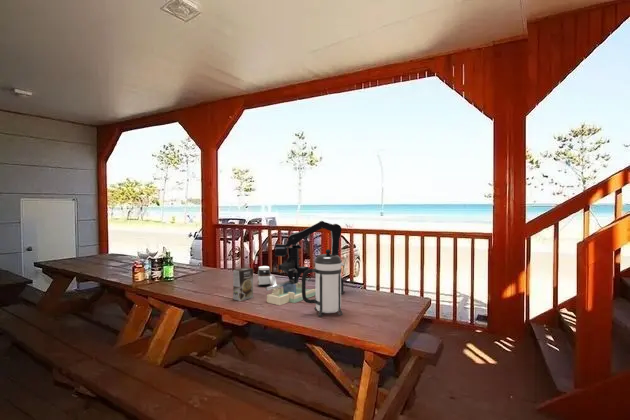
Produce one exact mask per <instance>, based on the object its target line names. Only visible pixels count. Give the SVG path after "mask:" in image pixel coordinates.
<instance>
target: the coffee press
mask: <svg viewBox="0 0 630 420" xmlns="http://www.w3.org/2000/svg"><path fill="white" fill-rule="evenodd" d="M314 264H315V268H309V269H308V270H306V271H305V272H304V273H302V274H301V275H302V276H301V283H302V298H303V300H302V301H304V302H305V303H307V304H315V307H314V311H317V312H318V317H321V318H323V316H324V315H325V314H334V313H337V315H338V316H339V317H341V316H343V314H344V313H343V311H342V309H341V308H342V294H341V277H342V266H345V263H344V262H343V261H342V258H341V257H340V256H339V254H338V255H335V254H332V250H331V249H326V250H325V253H322V254H319V255H317V256H316V257H315V259H314ZM312 273H315V288H316V295H315V298H314V299H309V298H306V289H307V288H306V287H307V286H306V285H307V284H306V283H307V280H306V279H307V276H308V275H309V274H312Z"/></svg>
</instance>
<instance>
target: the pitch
mask: <svg viewBox="0 0 630 420" xmlns="http://www.w3.org/2000/svg"><path fill="white" fill-rule="evenodd" d="M314 296H315V297H316V287H315V288H312V289H310V288H309V289H308V288H306V298H307V299H309V298H311V297H314ZM302 301H304V300H303V298H302V282H299V281H298V283H296V293H293V292H283V287H282V288H281V287H278V288H275V289H272V291H271V293H268V294H266V303H268V304H273V305H275V306H282V305H285V304H288V303H292V304H296V303H299V302H302Z"/></svg>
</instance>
